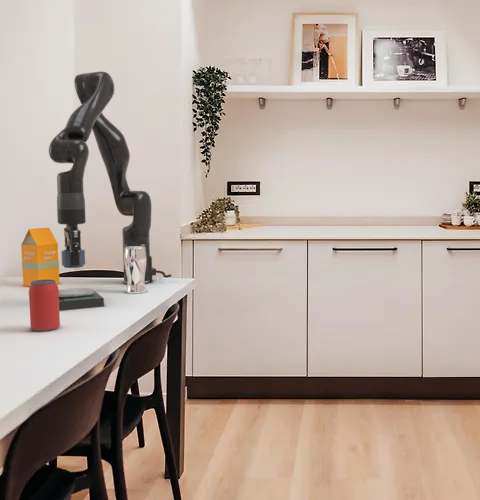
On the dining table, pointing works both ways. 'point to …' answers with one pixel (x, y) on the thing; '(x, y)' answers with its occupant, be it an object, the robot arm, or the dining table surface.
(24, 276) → the orange juice
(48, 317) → the beer can
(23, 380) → the dining table surface
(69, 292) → the platter
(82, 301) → the scale
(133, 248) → the beer glass
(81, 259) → the cup
